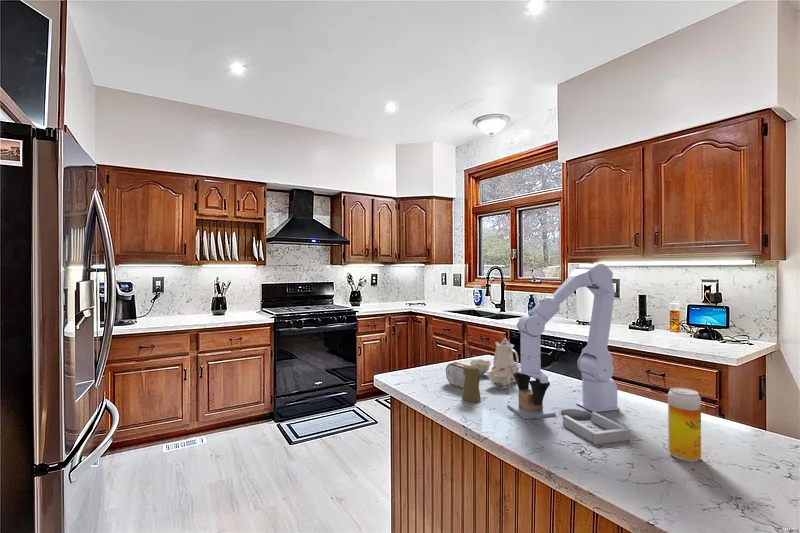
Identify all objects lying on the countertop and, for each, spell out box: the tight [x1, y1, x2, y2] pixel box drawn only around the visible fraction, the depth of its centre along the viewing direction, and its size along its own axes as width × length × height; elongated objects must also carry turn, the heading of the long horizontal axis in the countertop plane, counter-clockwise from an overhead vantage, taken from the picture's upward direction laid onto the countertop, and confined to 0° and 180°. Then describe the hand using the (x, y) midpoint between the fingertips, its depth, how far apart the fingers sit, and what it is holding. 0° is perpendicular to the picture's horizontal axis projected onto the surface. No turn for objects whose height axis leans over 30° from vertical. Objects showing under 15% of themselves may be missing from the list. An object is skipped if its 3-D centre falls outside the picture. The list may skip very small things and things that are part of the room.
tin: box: [445, 361, 480, 390], centre depth 143 cm, size 15×3×8 cm, turn 35°
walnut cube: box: [518, 388, 544, 412], centre depth 119 cm, size 5×5×5 cm
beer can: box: [667, 386, 702, 463], centre depth 91 cm, size 6×6×15 cm
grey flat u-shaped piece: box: [562, 411, 632, 445], centre depth 104 cm, size 10×12×2 cm
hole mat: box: [560, 408, 592, 421], centre depth 116 cm, size 8×8×1 cm
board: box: [506, 402, 557, 420], centre depth 119 cm, size 10×10×1 cm
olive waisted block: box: [461, 364, 482, 404], centre depth 130 cm, size 6×6×11 cm
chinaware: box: [469, 337, 520, 390], centre depth 152 cm, size 28×17×17 cm, turn 17°
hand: (530, 400), depth 119 cm, fingers open, 7 cm apart
